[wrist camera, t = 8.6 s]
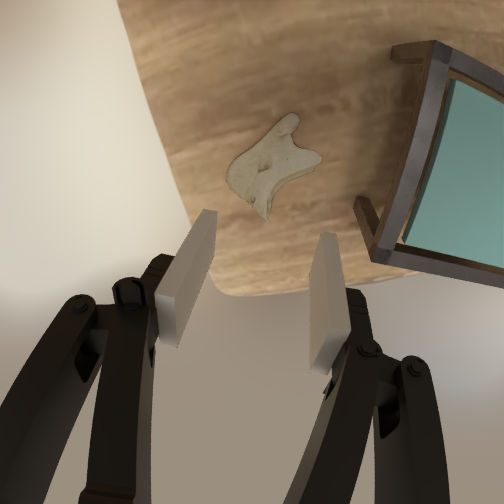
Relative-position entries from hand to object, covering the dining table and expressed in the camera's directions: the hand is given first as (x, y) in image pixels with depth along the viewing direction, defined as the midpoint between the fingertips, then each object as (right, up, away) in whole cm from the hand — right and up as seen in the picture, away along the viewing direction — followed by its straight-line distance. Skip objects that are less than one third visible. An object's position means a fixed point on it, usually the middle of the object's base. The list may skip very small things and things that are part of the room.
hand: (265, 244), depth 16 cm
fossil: (+2, +9, +17) cm, 19 cm away
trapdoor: (+20, +5, +4) cm, 21 cm away
